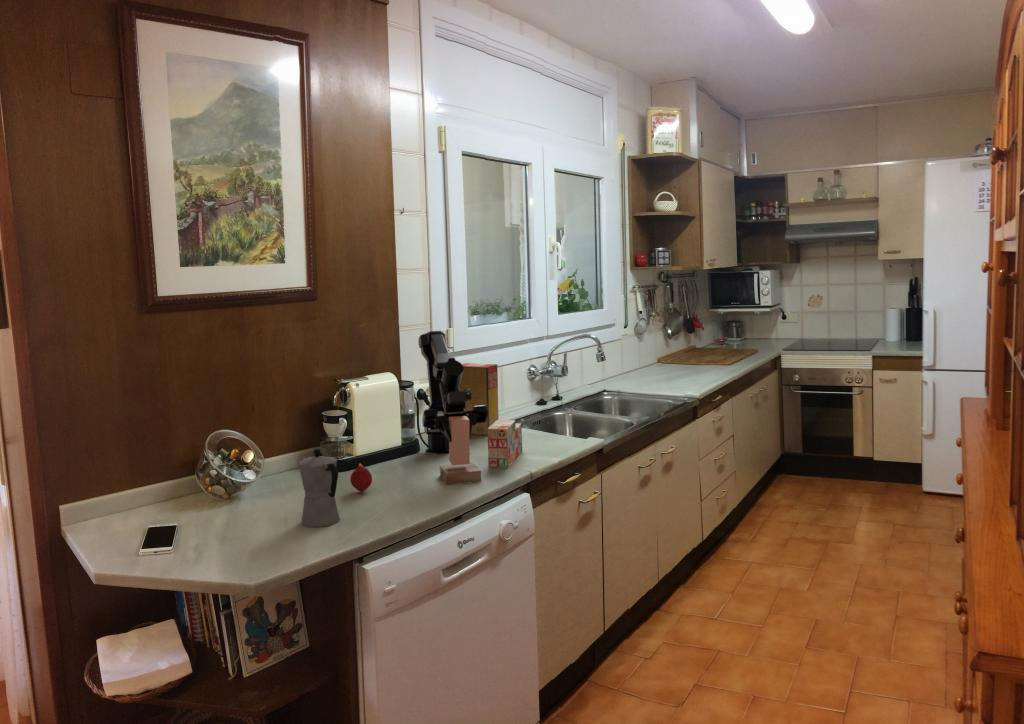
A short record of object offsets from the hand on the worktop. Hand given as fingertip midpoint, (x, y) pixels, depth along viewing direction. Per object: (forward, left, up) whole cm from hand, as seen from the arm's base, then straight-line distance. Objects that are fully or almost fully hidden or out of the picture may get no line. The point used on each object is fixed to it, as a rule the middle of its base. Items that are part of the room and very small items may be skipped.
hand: (460, 440), depth 215 cm
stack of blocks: (0, +26, -12) cm, 29 cm away
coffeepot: (-10, -45, -12) cm, 48 cm away
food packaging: (-29, +54, -12) cm, 62 cm away
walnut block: (-1, +1, -12) cm, 12 cm away
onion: (-18, -22, -12) cm, 31 cm away
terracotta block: (-1, +1, -7) cm, 7 cm away
